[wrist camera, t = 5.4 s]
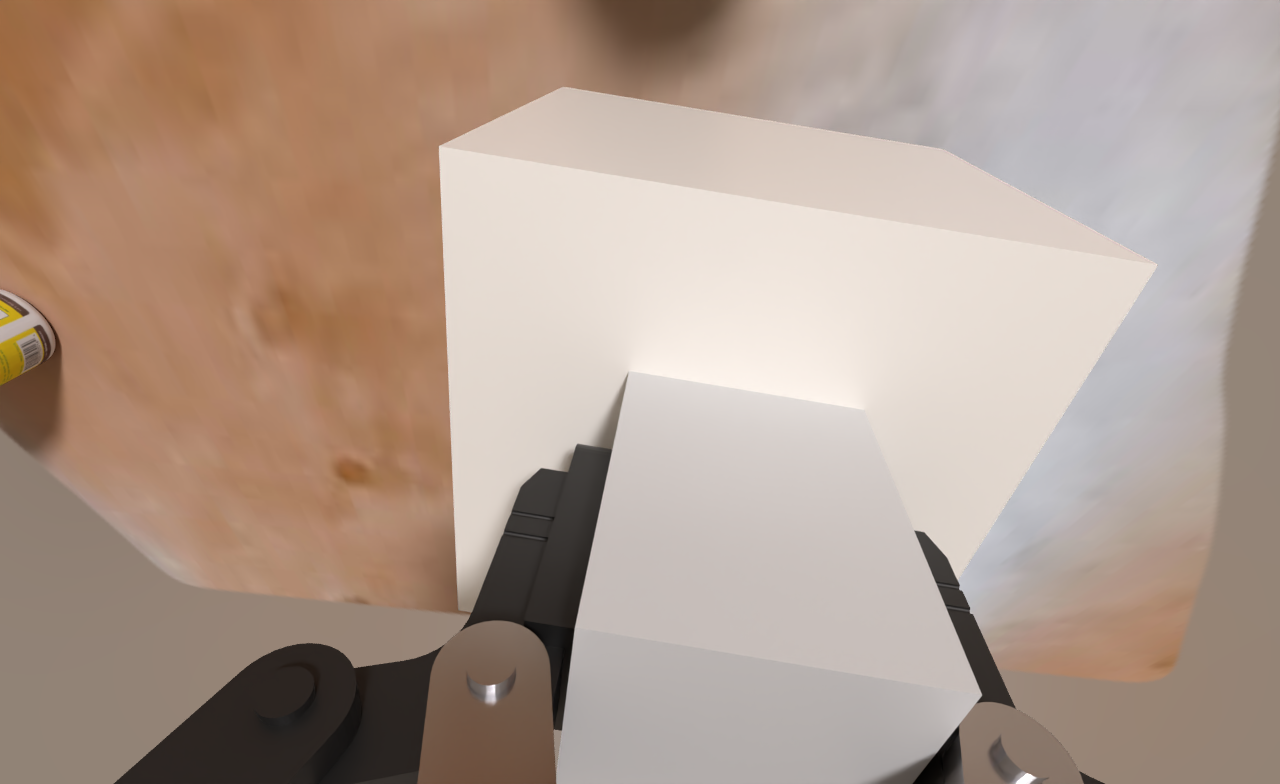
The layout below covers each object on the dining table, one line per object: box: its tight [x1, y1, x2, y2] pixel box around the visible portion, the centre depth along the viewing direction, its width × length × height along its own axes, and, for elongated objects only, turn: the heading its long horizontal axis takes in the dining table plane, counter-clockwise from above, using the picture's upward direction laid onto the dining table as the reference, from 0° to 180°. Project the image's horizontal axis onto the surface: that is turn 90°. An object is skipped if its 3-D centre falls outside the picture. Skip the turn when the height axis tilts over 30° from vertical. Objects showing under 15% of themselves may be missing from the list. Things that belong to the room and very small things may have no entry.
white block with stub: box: [439, 87, 1158, 784], centre depth 13 cm, size 10×10×14 cm
